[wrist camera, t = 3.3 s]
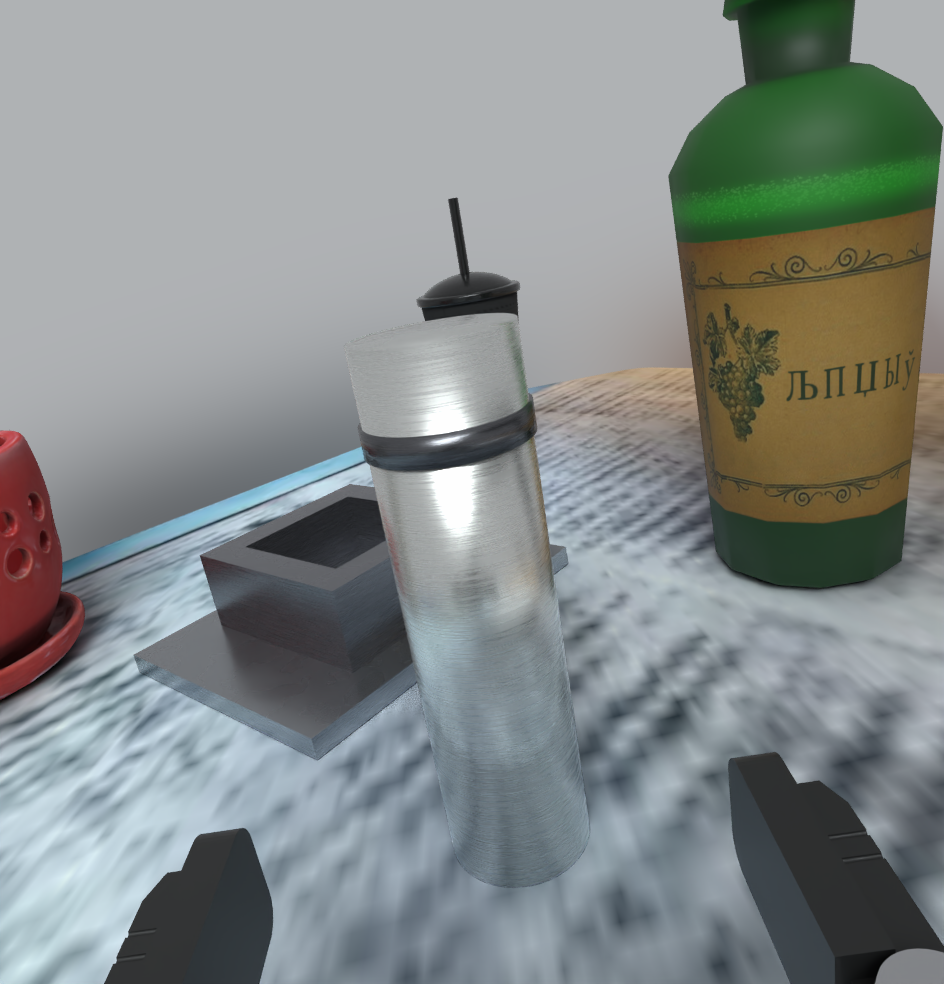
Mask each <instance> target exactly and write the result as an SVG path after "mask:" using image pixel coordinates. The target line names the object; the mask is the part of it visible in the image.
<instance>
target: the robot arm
mask: <svg viewBox="0 0 944 984" xmlns="http://www.w3.org/2000/svg"><path fill="white" fill-rule="evenodd" d="M728 770H729V786H730V801H731V817H732V831H733V839H734V844H735V849H736V853H737V857H738V860H739V863H740V867H741V869H742V872H743V875H744V877H745V879H746V882H747V884H748V886H749V889H750V891H751V893H752V895H753V898H754V900H755V902H756V905H757V907H758V909H759V912H760V914H761V916H762V919H763V921H764V923H765V925H766V928H767V930H768V932H769V935H770V937H771V939H772V942H773V944H774V946H775V949H776V951H777V953H778V955H779V958H780V960H781V962H782V965H783V967H784V969H785V972H786V974H787V976H788V978H789V981H790V983H791V984H944V946H943V944H942V943H941V941H940V940H939V938H938V937H937V935H936V934H935V932H934V931H933V929H932V928H931V926H930V925H929V923H928V922H927V920H926V919H925V917H924V916H923V914H922V913H921V911H920V910H919V908H918V907H917V905H916V904H915V902H914V901H913V899H912V898H911V896H910V895H909V893H908V892H907V890H906V889H905V887H904V886H903V884H902V883H901V881H900V880H899V878H898V877H897V875H896V874H895V872H894V871H893V869H892V868H891V866H890V865H889V863H888V862H887V860H886V859H885V858H884V859H883V857H882V854H881V851H880V850H879V848H878V847H877V845H876V844H875V842H874V841H873V839H872V838H871V836H870V835H867V832H866V829H865V827H864V826H863V824H862V823H861V821H860V820H859V818H858V817H857V815H856V814H855V812H854V811H853V809H852V808H851V806H850V805H849V803H848V802H847V801H845V800H844V799H843V798H841V797H840V796H839V795H837V794H836V793H835V792H833V791H832V790H831V789H829V788H828V787H827V786H825V785H824V784H823V783H821V782H820V781H813V782H806V783H799V784H797V783H796V781H795V780H794V778H793V776H792V775H791V773H790V771H789V770H788V768H787V766H786V765H785V763H784V761H783V760H782V758H781V757H780V755H779V754H778V753H776V752H772V753H765V754H758V755H751V756H745V757H738V758H731V759H730V760H729V764H728ZM272 928H273V908H272V901H271V896H270V893H269V890H268V887H267V884H266V881H265V878H264V875H263V872H262V869H261V866H260V863H259V860H258V857H257V854H256V851H255V848H254V845H253V842H252V839H251V836H250V834H249V832H248V831H247V830H246V829H245V828H240V829H233V830H227V831H220V832H213V833H206V834H201V835H199V836H197V837H196V839H195V840H194V842H193V844H192V847H191V849H190V851H189V854H188V856H187V858H186V861H185V863H184V865H183V868H182V870H181V871H177V872H170V873H167V874H166V875H165V876H164V877H163V878H162V879H161V880H160V882H159V883H158V884H157V885H156V886H155V887H154V888H153V890H152V891H151V892H150V893H149V894H148V895H147V897H146V898H145V899H144V900H143V901H142V903H141V905H140V908H139V910H138V912H137V914H136V916H135V918H134V920H133V923H132V925H131V927H130V929H129V931H128V933H129V935H128V938H125V940H124V942H123V944H122V946H121V949H120V951H119V953H118V955H117V957H116V958H117V962H116V964H113V966H112V968H111V970H110V972H109V974H108V977H107V979H106V981H105V983H104V984H259V982H260V979H261V975H262V971H263V967H264V963H265V959H266V956H267V952H268V948H269V944H270V940H271V935H272Z"/></svg>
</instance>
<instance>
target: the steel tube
mask: <svg viewBox="0 0 944 984" xmlns="http://www.w3.org/2000/svg"><path fill="white" fill-rule="evenodd" d="M344 350H345V354H346V359H347V363H348V368H349V373H350V377H351V381H352V386H353V391H354V396H355V400H356V405H357V409H358V414H359V418H360V424H359V426H358V432H359V437H360V441H361V446H362V450H363V455H364V459H365V461H366V462H367V463H368V464H369V465H370V469H371V473H372V478H373V482H374V487H375V492H376V496H377V501H378V505H379V510H380V514H381V519H382V524H383V528H384V533H385V537H386V542H387V546H388V551H389V556H390V560H391V565H392V569H393V574H394V578H395V583H396V587H397V592H398V597H399V601H400V606H401V610H402V615H403V619H404V624H405V629H406V633H407V638H408V642H409V647H410V651H411V656H412V661H413V665H414V670H415V674H416V679H417V683H418V688H419V693H420V697H421V702H422V706H423V711H424V715H425V720H426V725H427V729H428V734H429V738H430V743H431V747H432V752H433V757H434V761H435V766H436V770H437V775H438V779H439V784H440V789H441V793H442V798H443V802H444V807H445V811H446V816H447V821H448V825H449V830H450V834H451V839H452V843H453V848H454V852H455V855H456V857H457V859H458V861H459V863H460V864H461V865H462V867H463V868H464V869H465V870H466V871H467V872H468V873H470V874H471V875H472V876H474V877H475V878H477V879H479V880H481V881H483V882H485V883H488V884H492V885H495V886H501V887H512V888H515V887H527V886H533V885H537V884H540V883H544V882H546V881H549V880H551V879H553V878H555V877H557V876H559V875H560V874H562V873H563V872H565V871H566V870H568V869H569V868H570V867H571V866H572V865H573V864H574V863H575V862H576V861H577V860H578V859H579V858H580V856H581V855H582V853H583V851H584V849H585V847H586V845H587V842H588V839H589V832H590V827H589V818H588V811H587V804H586V797H585V789H584V782H583V775H582V768H581V761H580V754H579V747H578V740H577V733H576V726H575V719H574V712H573V705H572V698H571V691H570V684H569V677H568V670H567V663H566V655H565V648H564V641H563V634H562V627H561V620H560V613H559V606H558V599H557V592H556V585H555V578H554V571H553V564H552V557H551V550H550V543H549V536H548V529H547V521H546V514H545V507H544V500H543V493H542V486H541V479H540V472H539V465H538V458H537V451H536V444H535V437H534V435H535V433H536V431H537V423H536V416H535V409H534V402H533V397H532V395H531V394H529V393H528V387H527V381H526V373H525V366H524V359H523V353H522V345H521V338H520V331H519V324H518V317H517V315H515V314H510V313H485V314H474V315H464V316H456V317H449V318H443V319H436V320H430V321H425V322H420V323H415V324H409V325H405V326H400V327H396V328H392V329H387V330H384V331H380V332H376V333H372V334H369V335H366V336H363V337H360V338H357V339H355V340H352V341H350V342H348V343H347V344H345V345H344Z"/></svg>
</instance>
